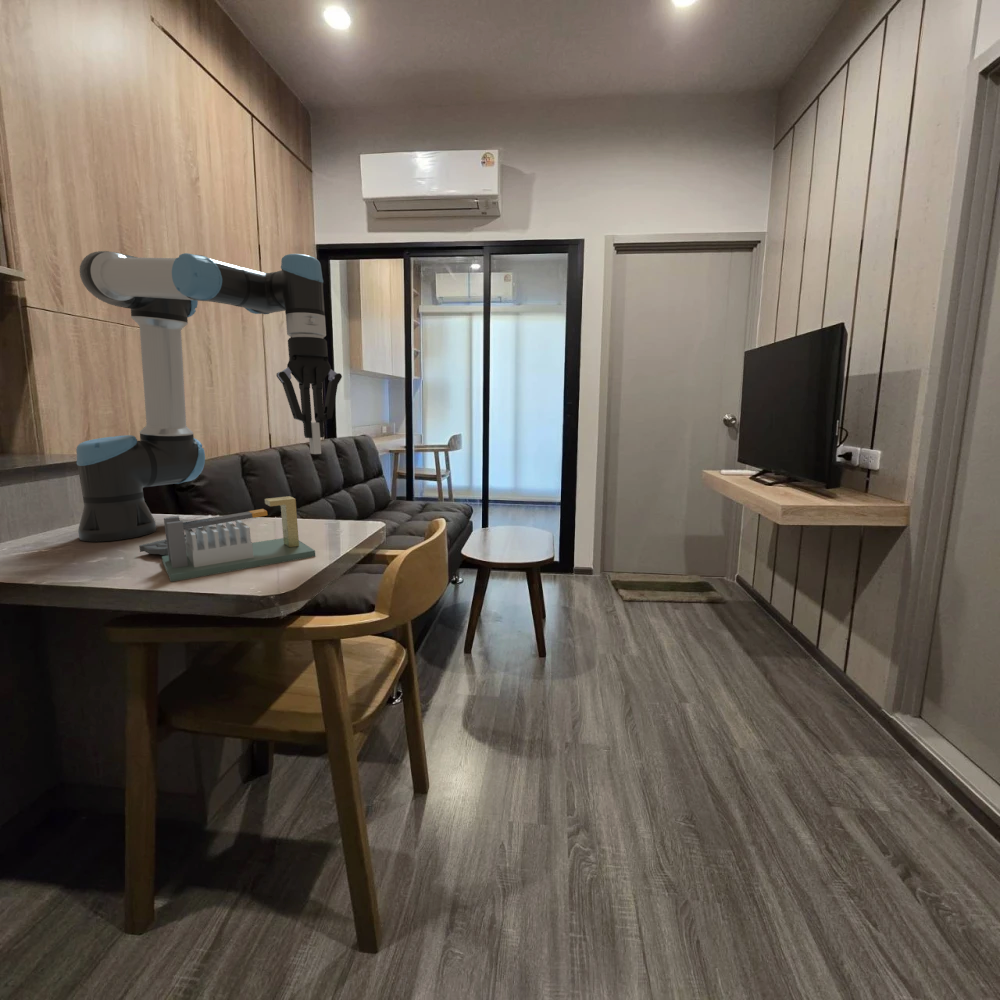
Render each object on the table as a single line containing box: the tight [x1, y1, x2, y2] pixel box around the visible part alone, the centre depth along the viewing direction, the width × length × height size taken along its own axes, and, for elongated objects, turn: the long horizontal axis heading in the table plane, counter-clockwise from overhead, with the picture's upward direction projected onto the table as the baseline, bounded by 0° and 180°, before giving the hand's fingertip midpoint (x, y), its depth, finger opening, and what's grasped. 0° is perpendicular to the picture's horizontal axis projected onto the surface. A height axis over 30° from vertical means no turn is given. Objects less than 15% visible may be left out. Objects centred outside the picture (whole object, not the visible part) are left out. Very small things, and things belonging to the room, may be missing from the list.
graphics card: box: [138, 526, 217, 556], centre depth 112 cm, size 17×4×12 cm
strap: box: [183, 508, 269, 531], centre depth 100 cm, size 3×17×1 cm, turn 127°
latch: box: [264, 495, 300, 547], centre depth 107 cm, size 4×5×10 cm
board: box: [161, 515, 316, 582], centre depth 103 cm, size 15×25×10 cm, turn 127°
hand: (315, 453), depth 110 cm, fingers closed
